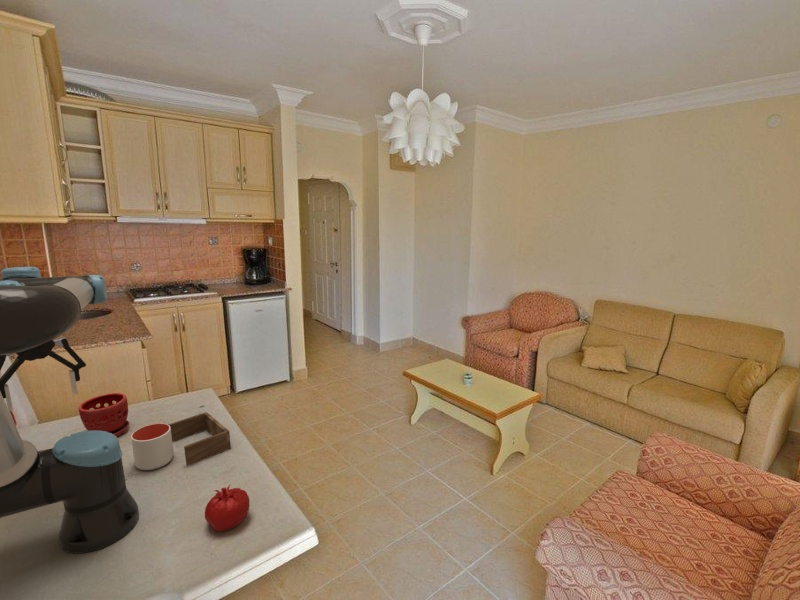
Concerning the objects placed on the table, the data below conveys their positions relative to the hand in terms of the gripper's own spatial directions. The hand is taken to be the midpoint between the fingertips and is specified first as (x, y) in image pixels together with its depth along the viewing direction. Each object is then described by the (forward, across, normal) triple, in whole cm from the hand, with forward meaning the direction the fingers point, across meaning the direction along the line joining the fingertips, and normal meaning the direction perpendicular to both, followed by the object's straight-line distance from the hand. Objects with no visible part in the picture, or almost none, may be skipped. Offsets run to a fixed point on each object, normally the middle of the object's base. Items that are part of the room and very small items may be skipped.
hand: (44, 400), depth 112 cm
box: (+22, -34, +15) cm, 43 cm away
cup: (+23, -21, +14) cm, 34 cm away
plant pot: (+22, -16, -15) cm, 31 cm away
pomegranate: (+24, -24, +53) cm, 63 cm away
